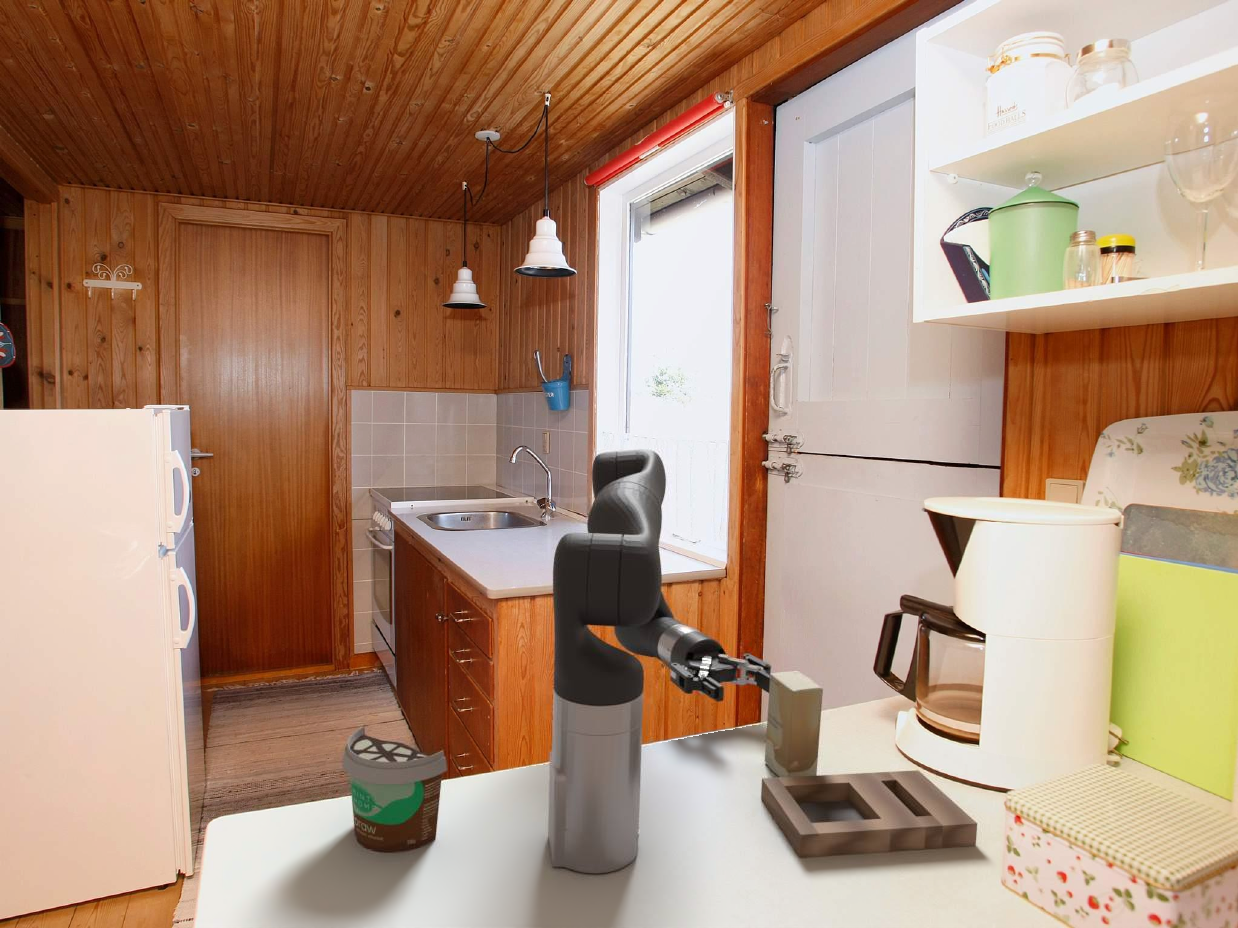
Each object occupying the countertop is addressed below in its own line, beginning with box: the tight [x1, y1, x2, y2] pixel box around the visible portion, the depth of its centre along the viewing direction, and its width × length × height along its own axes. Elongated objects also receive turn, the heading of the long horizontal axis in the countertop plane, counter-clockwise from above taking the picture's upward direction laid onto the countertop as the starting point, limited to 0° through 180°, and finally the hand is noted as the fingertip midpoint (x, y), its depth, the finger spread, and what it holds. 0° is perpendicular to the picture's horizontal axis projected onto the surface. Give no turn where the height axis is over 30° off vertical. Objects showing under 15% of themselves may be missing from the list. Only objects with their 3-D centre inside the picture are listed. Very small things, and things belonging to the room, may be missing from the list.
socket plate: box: [760, 769, 978, 859], centre depth 90 cm, size 20×12×2 cm, turn 99°
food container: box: [341, 726, 448, 854], centre depth 83 cm, size 12×6×10 cm, turn 62°
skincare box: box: [764, 670, 824, 778], centre depth 101 cm, size 6×4×12 cm
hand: (748, 690), depth 110 cm, fingers open, 8 cm apart
